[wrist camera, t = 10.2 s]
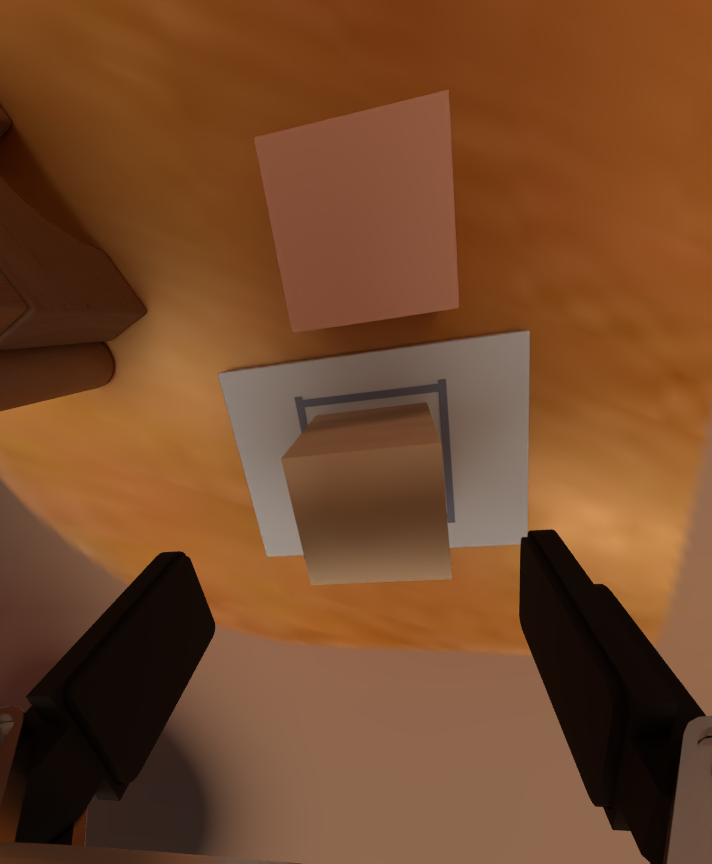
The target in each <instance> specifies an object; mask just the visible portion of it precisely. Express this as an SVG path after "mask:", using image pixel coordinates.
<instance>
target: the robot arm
mask: <svg viewBox="0 0 712 864" xmlns="http://www.w3.org/2000/svg"><path fill="white" fill-rule="evenodd" d="M519 617H520V623H521V627H522V630H523V633H524V635H525V638H526V640H527V643H528V645H529V648H530V650H531V653H532V655H533V658H534V660H535V663H536V665H537V668H538V670H539V673H540V675H541V678H542V680H543V683H544V685H545V688H546V690H547V693H548V695H549V698H550V700H551V703H552V705H553V708H554V710H555V712H556V715H557V718H558V720H559V723H560V725H561V728H562V730H563V733H564V735H565V738H566V740H567V743H568V745H569V748H570V750H571V753H572V755H573V758H574V760H575V763H576V765H577V768H578V770H579V773H580V776H581V778H582V781H583V783H584V785H585V788H586V790H587V793H588V795H589V797H590V799H591V801H592V803H593V804H594V805H595V806H597V807H603V808H604V810H605V813H606V815H607V818H608V820H609V822H610V825H611V827H612V829H613V830H625V831H631V833H632V835H633V837H634V839H635V841H636V844H637V846H638V848H639V850H640V853H641V855H643V857H645V858H646V859H647V860H648V861H649V862H650V864H712V716H706V715H705V714H704V712H703V711H702V710H701V708H700V707H699V706H698V705H697V703H696V702H695V700H694V699H693V698H692V697H691V695H690V694H689V693H688V691H687V690H686V689H685V687H684V686H683V685H682V683H681V682H680V681H679V679H678V678H677V677H676V676H675V674H674V673H673V672H672V670H671V669H670V668H669V666H668V665H667V664H666V663H665V661H664V660H663V659H662V657H661V656H660V655H659V653H658V652H657V651H656V649H655V648H654V647H653V645H652V644H651V643H650V641H649V640H648V639H647V637H646V636H645V635H644V634H643V632H642V631H641V630H640V628H639V627H638V626H637V624H636V623H635V622H634V620H633V619H632V618H631V617H630V615H629V614H628V613H627V611H626V610H625V609H624V607H623V606H622V605H621V603H620V602H619V601H618V599H617V598H616V597H615V596H614V594H613V593H612V592H611V591H610V590H609V589H608V587H606V586H605V585H603V584H593V582H592V581H591V580H590V578H589V577H588V575H587V574H586V573H585V571H584V570H583V569H582V567H581V566H580V564H579V563H578V562H577V560H576V559H575V557H574V556H573V555H572V553H571V552H570V550H569V549H568V548H567V546H566V545H565V544H564V542H563V541H562V539H561V538H560V537H559V535H558V534H557V533H556V531H555V530H535V531H529V532H528V536H527V537H522V538H521V550H520V605H519ZM214 632H215V622H214V619H213V617H212V614H211V611H210V609H209V606H208V604H207V601H206V598H205V596H204V593H203V591H202V588H201V585H200V583H199V580H198V578H197V575H196V572H195V570H194V567H193V565H192V562H191V560H190V558H189V557H188V556H186V555H185V553H183V552H180V551H178V552H163V553H160V554H159V555H158V556H157V557H156V558H155V559H154V560H153V561H152V562H151V563H150V564H149V565H148V566H147V567H146V568H145V569H144V571H143V572H142V573H141V574H140V575H139V576H138V577H137V578H136V579H135V580H134V581H133V582H132V583H131V584H130V586H129V587H128V588H127V589H126V590H125V591H124V592H123V593H122V594H121V595H120V596H119V597H118V599H116V601H115V602H114V603H113V604H112V605H111V606H110V607H109V608H108V609H107V610H106V611H105V612H104V614H102V616H101V617H100V618H99V619H98V620H97V621H96V622H95V623H94V624H93V625H92V626H91V628H89V629H88V631H87V632H86V633H85V634H84V635H83V636H82V637H81V638H80V639H79V640H78V641H77V642H76V643H75V645H74V646H73V647H72V648H71V649H70V650H69V651H68V652H67V653H66V654H65V655H64V656H63V657H62V658H61V660H60V661H59V662H58V663H57V664H56V665H55V666H54V667H53V668H52V669H51V670H50V671H49V672H48V673H47V675H46V676H45V677H44V678H43V679H42V680H41V681H40V682H39V683H38V684H37V685H36V687H34V688H33V690H32V691H31V692H30V693H29V694H28V695H27V696H26V697H27V699H28V700H29V702H30V703H31V704H32V706H31V707H30V708H29V709H28V711H27V712H26V713H24V712H23V710H22V709H21V708H20V707H17V706H8V707H4V708H0V864H299V863H287V862H275V861H263V860H250V859H239V858H227V857H214V856H201V855H190V854H177V853H164V852H151V851H137V850H125V849H111V848H98V847H85V835H86V821H87V806H88V804H89V803H90V801H91V799H92V798H93V796H94V794H95V795H96V797H97V798H98V799H99V800H115V801H120V800H121V798H122V796H123V794H124V792H125V790H126V789H127V787H128V785H129V783H130V782H132V781H133V780H134V779H135V778H136V777H137V776H138V774H139V773H140V771H141V769H142V767H143V766H144V764H145V762H146V760H147V758H148V756H149V754H150V753H151V751H152V749H153V747H154V745H155V743H156V741H157V740H158V738H159V736H160V734H161V732H162V730H163V729H164V727H165V725H166V723H167V721H168V719H169V717H170V715H171V714H172V712H173V710H174V708H175V706H176V704H177V703H178V701H179V699H180V697H181V695H182V693H183V691H184V689H185V688H186V686H187V684H188V682H189V680H190V678H191V677H192V675H193V673H194V671H195V669H196V667H197V665H198V663H199V662H200V660H201V658H202V656H203V654H204V652H205V651H206V649H207V647H208V645H209V643H210V641H211V639H212V638H213V635H214Z"/></svg>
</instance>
